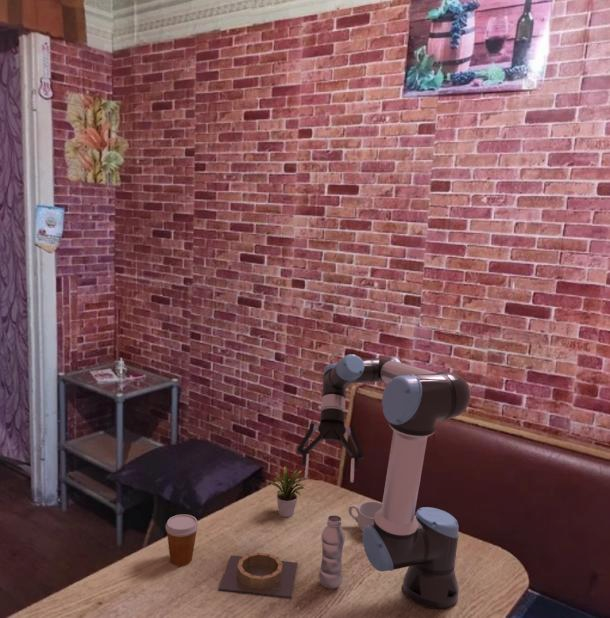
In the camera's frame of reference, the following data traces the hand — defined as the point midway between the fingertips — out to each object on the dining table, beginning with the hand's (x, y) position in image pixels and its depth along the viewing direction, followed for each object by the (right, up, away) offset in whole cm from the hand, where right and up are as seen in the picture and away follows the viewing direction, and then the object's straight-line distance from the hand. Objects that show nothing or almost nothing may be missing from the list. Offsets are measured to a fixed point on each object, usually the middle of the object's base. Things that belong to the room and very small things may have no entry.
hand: (329, 479), depth 175 cm
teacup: (+14, -23, +22) cm, 35 cm away
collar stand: (-20, -26, -7) cm, 33 cm away
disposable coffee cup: (-43, -24, -1) cm, 49 cm away
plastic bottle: (0, -27, -9) cm, 29 cm away
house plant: (-14, -21, +28) cm, 38 cm away
